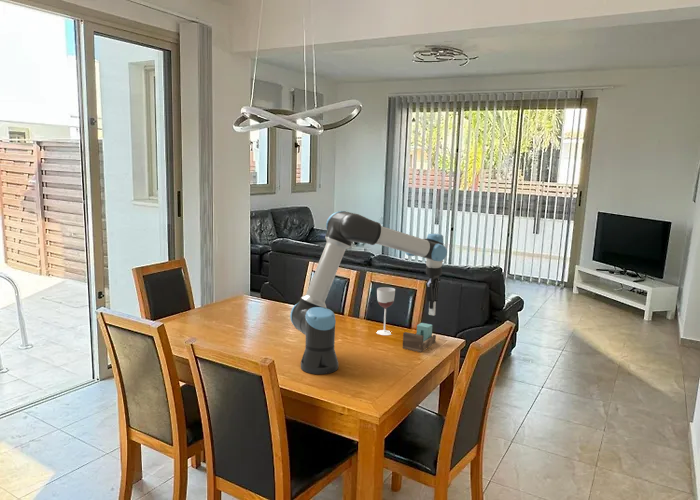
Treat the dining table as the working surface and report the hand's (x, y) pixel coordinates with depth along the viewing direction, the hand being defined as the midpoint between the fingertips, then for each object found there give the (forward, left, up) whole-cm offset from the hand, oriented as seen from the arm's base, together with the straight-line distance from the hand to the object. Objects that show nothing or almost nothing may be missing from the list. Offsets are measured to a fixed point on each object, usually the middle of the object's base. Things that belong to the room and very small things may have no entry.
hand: (431, 314), depth 245 cm
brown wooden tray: (-13, 0, -12) cm, 17 cm away
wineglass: (-6, +22, -12) cm, 26 cm away
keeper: (-8, 0, -10) cm, 13 cm away
